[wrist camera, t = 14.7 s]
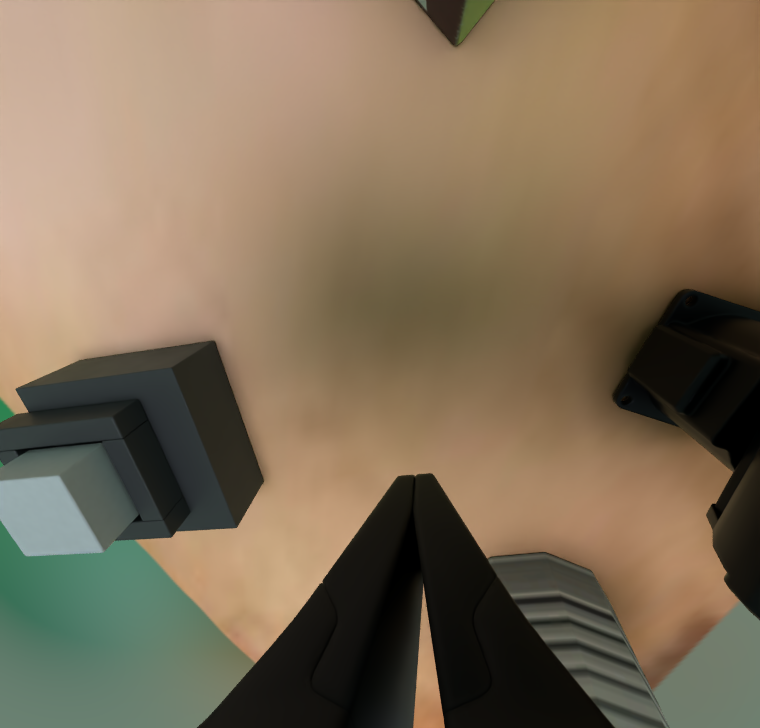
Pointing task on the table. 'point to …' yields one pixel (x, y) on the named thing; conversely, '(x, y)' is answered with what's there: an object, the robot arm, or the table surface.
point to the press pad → (64, 500)
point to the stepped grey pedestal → (149, 434)
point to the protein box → (455, 15)
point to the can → (582, 634)
